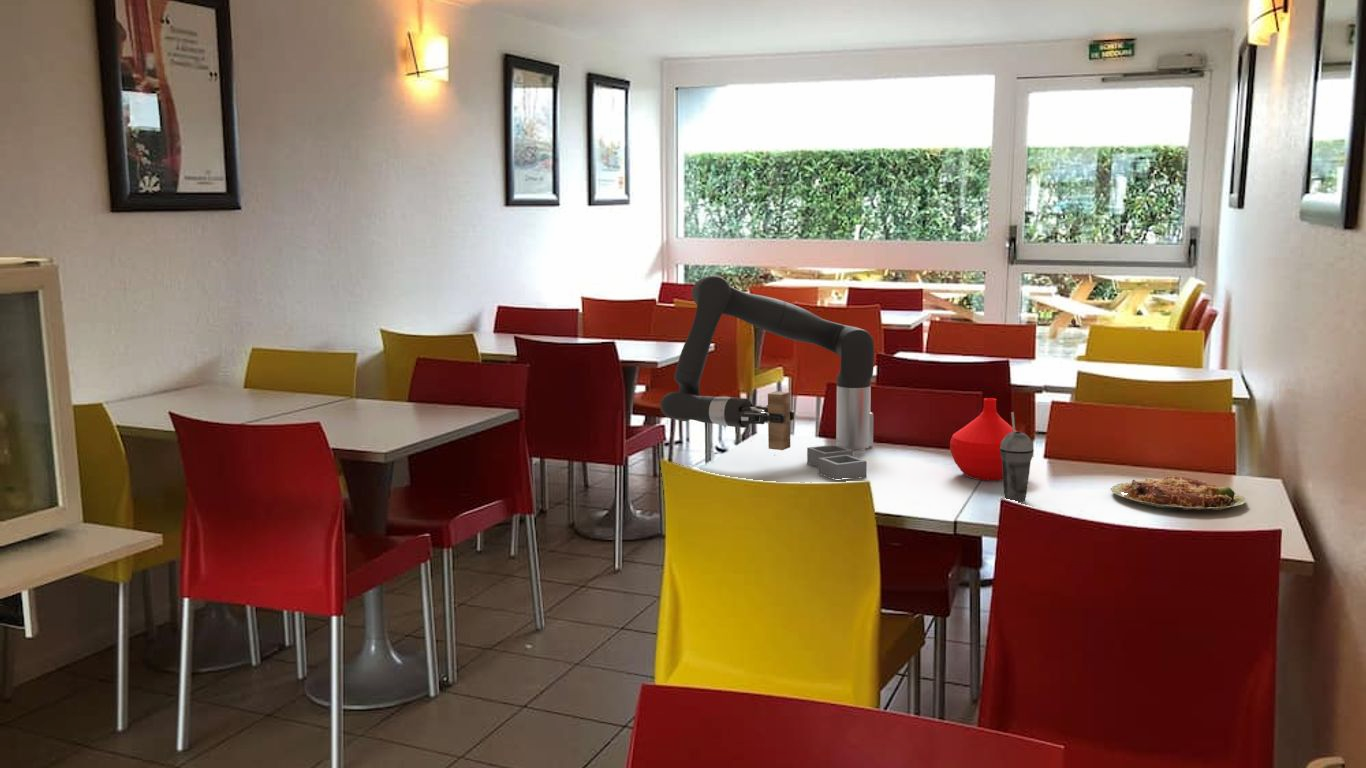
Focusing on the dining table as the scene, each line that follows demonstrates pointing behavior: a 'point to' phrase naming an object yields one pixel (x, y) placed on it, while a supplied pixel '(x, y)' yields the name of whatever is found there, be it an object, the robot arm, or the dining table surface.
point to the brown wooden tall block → (779, 431)
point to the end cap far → (825, 453)
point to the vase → (981, 444)
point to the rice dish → (1179, 493)
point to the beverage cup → (1016, 464)
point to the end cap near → (842, 467)
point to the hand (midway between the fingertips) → (788, 417)
